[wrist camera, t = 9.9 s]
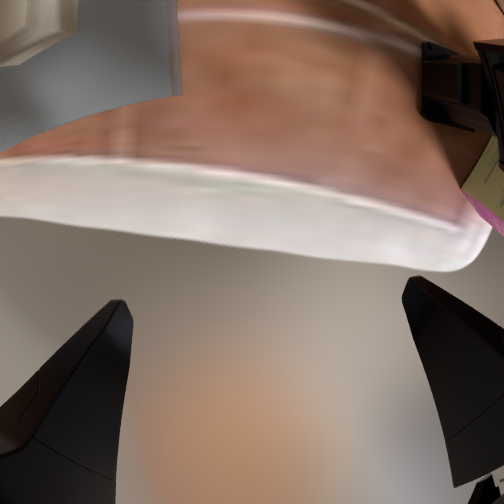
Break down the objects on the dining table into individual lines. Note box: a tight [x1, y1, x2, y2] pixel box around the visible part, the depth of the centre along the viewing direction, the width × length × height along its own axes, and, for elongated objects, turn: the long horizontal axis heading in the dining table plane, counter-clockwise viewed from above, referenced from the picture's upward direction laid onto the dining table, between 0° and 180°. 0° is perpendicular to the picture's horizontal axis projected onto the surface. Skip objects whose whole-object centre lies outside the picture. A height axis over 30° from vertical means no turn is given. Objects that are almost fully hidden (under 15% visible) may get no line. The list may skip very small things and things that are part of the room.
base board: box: [0, 0, 182, 152], centre depth 9 cm, size 16×16×3 cm
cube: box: [0, 0, 78, 67], centre depth 5 cm, size 5×5×5 cm
